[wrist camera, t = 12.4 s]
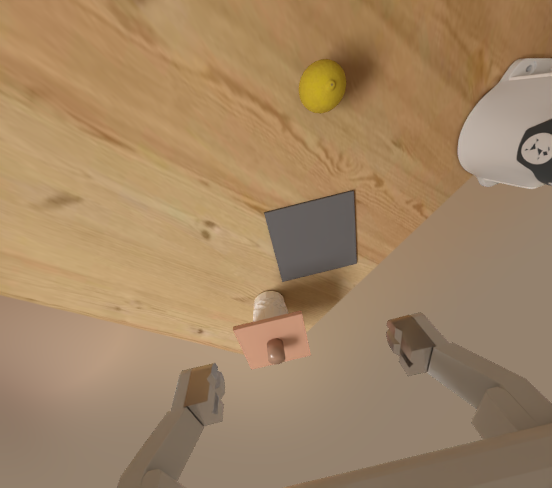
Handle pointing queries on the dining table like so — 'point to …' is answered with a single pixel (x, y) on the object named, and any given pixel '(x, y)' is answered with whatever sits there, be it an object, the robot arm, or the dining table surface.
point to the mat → (314, 235)
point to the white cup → (269, 305)
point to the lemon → (322, 86)
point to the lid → (273, 340)
